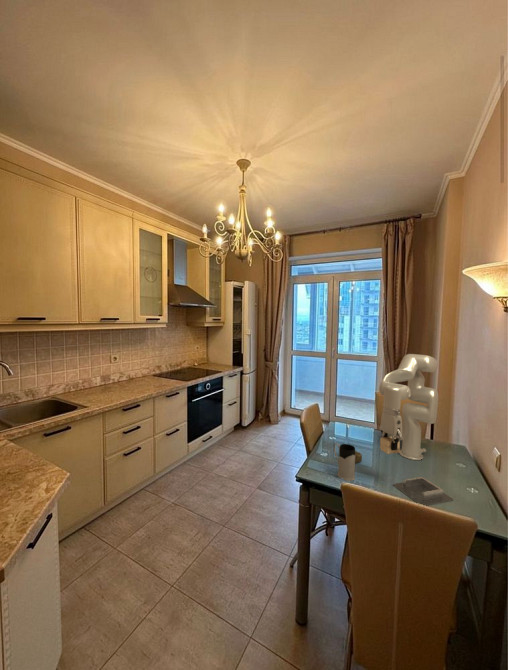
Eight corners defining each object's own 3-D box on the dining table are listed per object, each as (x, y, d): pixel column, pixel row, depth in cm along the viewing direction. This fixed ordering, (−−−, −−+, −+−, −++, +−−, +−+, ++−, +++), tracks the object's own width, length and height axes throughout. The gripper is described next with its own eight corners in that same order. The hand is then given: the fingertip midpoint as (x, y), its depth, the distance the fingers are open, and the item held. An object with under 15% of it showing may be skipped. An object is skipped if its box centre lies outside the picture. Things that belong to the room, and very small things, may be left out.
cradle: (422, 480, 135) (422, 473, 135) (453, 500, 120) (453, 492, 120) (392, 485, 130) (393, 477, 130) (421, 506, 115) (422, 498, 115)
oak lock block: (391, 447, 137) (392, 436, 136) (399, 452, 132) (399, 440, 132) (380, 449, 135) (380, 437, 135) (387, 453, 130) (387, 441, 130)
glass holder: (345, 482, 131) (347, 452, 131) (326, 467, 144) (328, 440, 144) (359, 478, 135) (360, 449, 134) (339, 465, 148) (340, 438, 147)
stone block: (357, 464, 149) (357, 455, 149) (339, 456, 158) (339, 448, 158) (362, 461, 153) (362, 453, 153) (344, 454, 162) (344, 445, 162)
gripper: (411, 416, 125) (409, 454, 126) (385, 405, 142) (383, 439, 142) (398, 417, 123) (396, 456, 124) (373, 406, 140) (371, 440, 141)
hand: (389, 446), depth 133 cm, fingers closed on oak lock block, 5 cm apart
